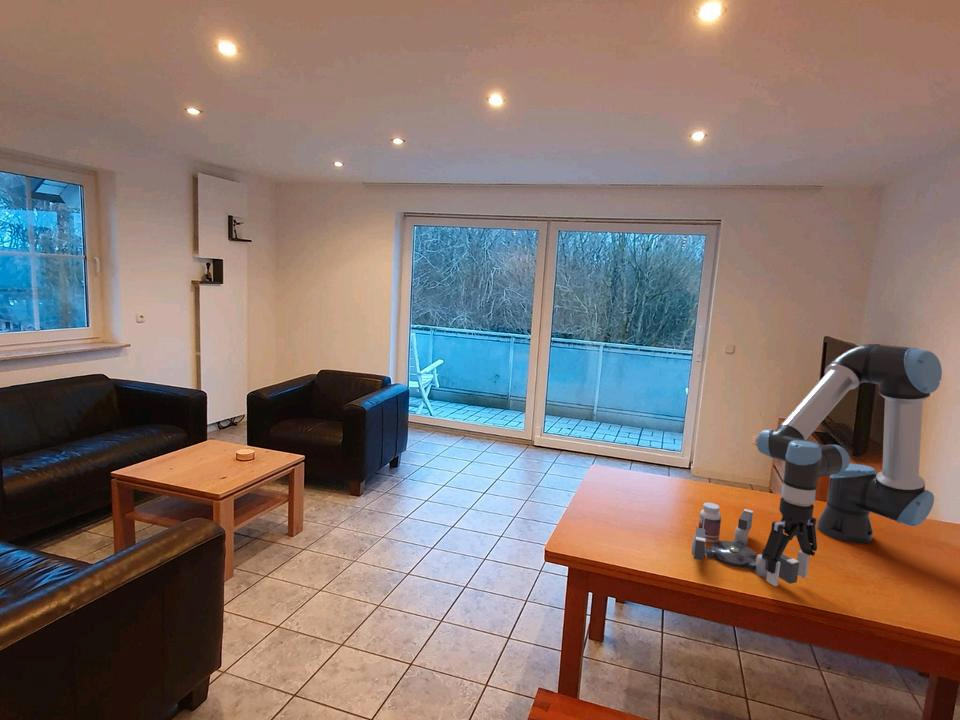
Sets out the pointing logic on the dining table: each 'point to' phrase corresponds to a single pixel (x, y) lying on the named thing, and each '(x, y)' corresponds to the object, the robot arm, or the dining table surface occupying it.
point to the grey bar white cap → (786, 568)
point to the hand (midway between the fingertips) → (786, 579)
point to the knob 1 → (743, 527)
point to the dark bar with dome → (699, 544)
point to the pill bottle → (710, 521)
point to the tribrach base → (733, 554)
